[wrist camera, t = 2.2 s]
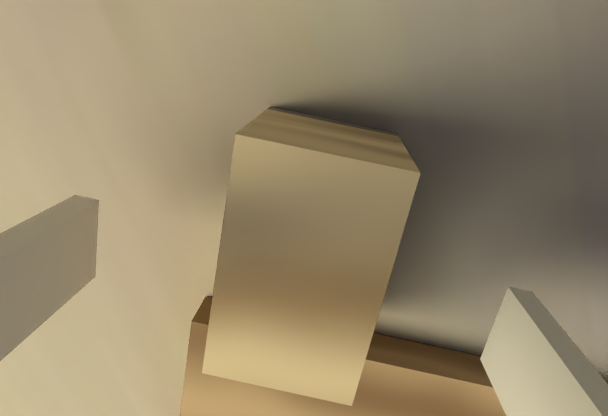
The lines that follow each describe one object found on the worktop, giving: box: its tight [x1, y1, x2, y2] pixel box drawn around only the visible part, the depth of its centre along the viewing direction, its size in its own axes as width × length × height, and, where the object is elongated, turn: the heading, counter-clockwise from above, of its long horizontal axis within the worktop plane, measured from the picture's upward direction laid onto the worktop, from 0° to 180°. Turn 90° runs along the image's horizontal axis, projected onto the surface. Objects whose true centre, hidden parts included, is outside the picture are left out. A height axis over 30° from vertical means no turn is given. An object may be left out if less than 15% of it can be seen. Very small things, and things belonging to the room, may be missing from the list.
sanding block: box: [202, 107, 420, 406], centre depth 16 cm, size 8×5×6 cm, turn 169°
